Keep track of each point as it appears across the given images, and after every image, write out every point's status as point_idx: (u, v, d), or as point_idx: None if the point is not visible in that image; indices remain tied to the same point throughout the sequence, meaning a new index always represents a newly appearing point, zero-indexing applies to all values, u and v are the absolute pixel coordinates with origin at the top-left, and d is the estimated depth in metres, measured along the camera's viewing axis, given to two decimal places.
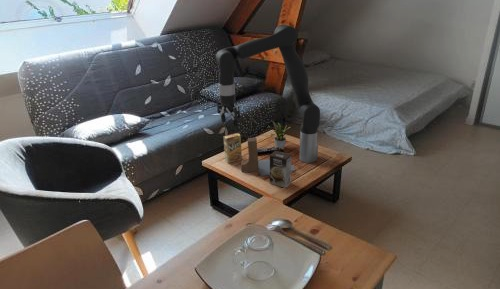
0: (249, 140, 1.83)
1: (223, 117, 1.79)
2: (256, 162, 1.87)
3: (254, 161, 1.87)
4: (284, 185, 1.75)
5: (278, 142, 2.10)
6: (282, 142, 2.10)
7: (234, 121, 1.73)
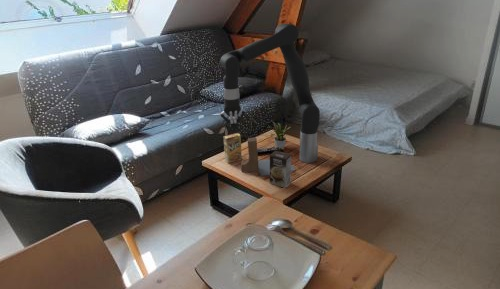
0: (249, 140, 1.83)
1: None
2: (256, 162, 1.87)
3: (254, 161, 1.87)
4: (284, 185, 1.75)
5: (278, 142, 2.10)
6: (282, 142, 2.10)
7: (235, 124, 1.78)
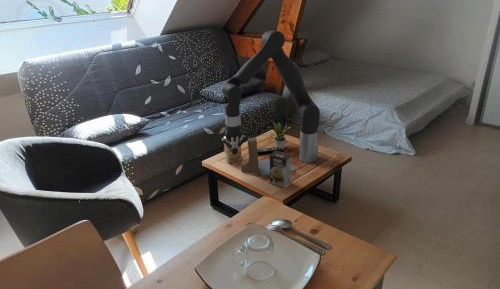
0: (249, 140, 1.83)
1: None
2: (256, 162, 1.87)
3: (254, 161, 1.87)
4: (284, 185, 1.75)
5: (278, 142, 2.10)
6: (282, 142, 2.10)
7: (236, 149, 1.84)
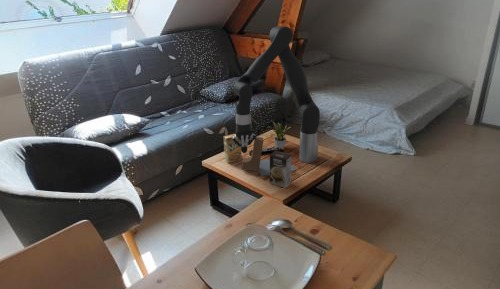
0: (256, 139, 1.83)
1: None
2: (258, 162, 1.87)
3: (256, 160, 1.87)
4: (284, 185, 1.75)
5: (278, 142, 2.10)
6: (282, 142, 2.10)
7: (246, 147, 1.85)
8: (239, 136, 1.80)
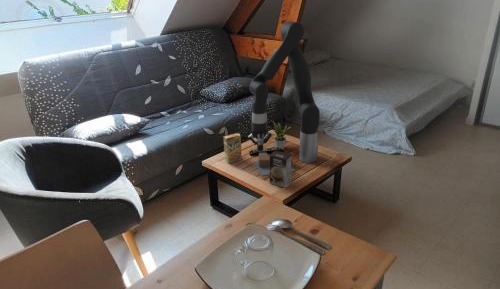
0: (291, 158, 1.95)
1: None
2: (269, 159, 1.92)
3: None
4: (284, 185, 1.75)
5: (278, 142, 2.10)
6: (282, 142, 2.10)
7: (262, 146, 1.87)
8: (255, 135, 1.83)
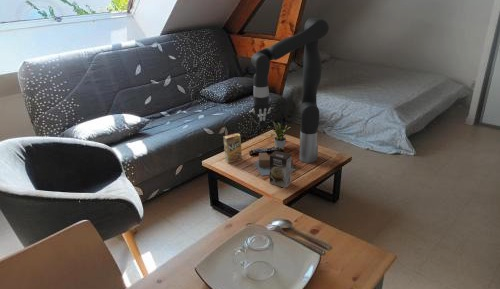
0: (291, 158, 1.95)
1: None
2: (269, 159, 1.92)
3: None
4: (284, 185, 1.75)
5: (278, 142, 2.10)
6: (282, 142, 2.10)
7: (264, 121, 1.81)
8: (257, 110, 1.77)
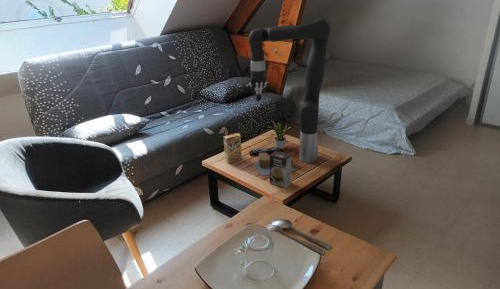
0: (291, 158, 1.95)
1: None
2: (269, 159, 1.92)
3: None
4: (284, 185, 1.75)
5: (278, 142, 2.10)
6: (282, 142, 2.10)
7: (260, 95, 1.92)
8: (254, 83, 1.88)
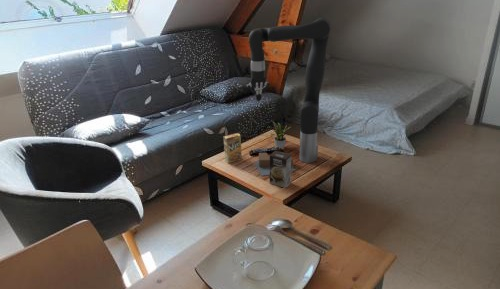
0: (291, 158, 1.95)
1: None
2: (269, 159, 1.92)
3: None
4: (284, 185, 1.75)
5: (278, 142, 2.10)
6: (282, 142, 2.10)
7: (260, 95, 1.92)
8: (254, 83, 1.88)
